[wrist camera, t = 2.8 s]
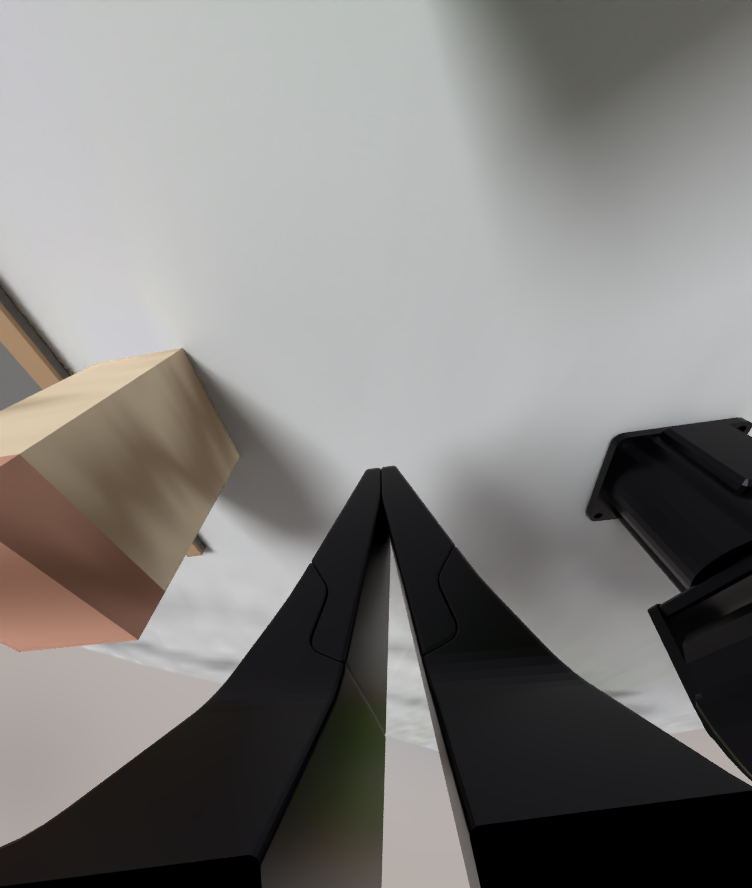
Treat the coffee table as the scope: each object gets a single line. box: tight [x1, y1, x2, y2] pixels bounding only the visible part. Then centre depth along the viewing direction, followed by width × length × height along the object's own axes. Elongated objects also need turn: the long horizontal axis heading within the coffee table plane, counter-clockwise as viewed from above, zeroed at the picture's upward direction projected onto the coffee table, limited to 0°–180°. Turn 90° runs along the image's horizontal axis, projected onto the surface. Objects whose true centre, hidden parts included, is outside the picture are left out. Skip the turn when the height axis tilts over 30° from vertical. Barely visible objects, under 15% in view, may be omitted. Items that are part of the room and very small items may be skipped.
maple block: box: [0, 348, 240, 652], centre depth 11 cm, size 6×4×9 cm, turn 9°
